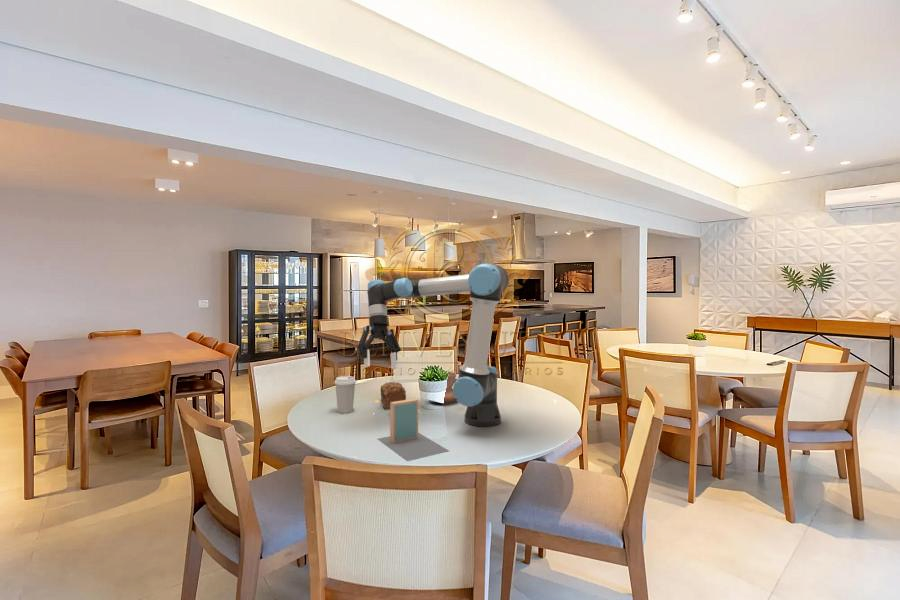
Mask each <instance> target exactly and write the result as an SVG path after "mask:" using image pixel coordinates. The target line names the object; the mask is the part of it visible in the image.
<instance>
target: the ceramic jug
mask: <svg viewBox="0 0 900 600" xmlns="http://www.w3.org/2000/svg"><path fill="white" fill-rule="evenodd" d="M446 371H447V372H448V373H449V376H448V379H447V388H446V392H445V397H444V405H448V404H451V403H453V402H456V401H457V399H456V398H455V396H454V394H453V386H454V383H455V382H456V380H457V379H458V378H457V372H455V371H450V370H446Z"/></svg>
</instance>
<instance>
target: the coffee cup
mask: <svg viewBox="0 0 900 600" xmlns="http://www.w3.org/2000/svg"><path fill="white" fill-rule="evenodd" d="M355 378H356V377H354V376H351V375H344V376H343V375H341V376H338V377H336V378H335V380H334V383H333V384H335V385H334V386H335V393H336V395H335V396H336V406H337V412H338V413H339V412H340V414H348V413H349V412H350V413H352V412H353V411H354V401H355V400H354V399H355V388H356V383H357V380H356V379H355Z"/></svg>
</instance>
